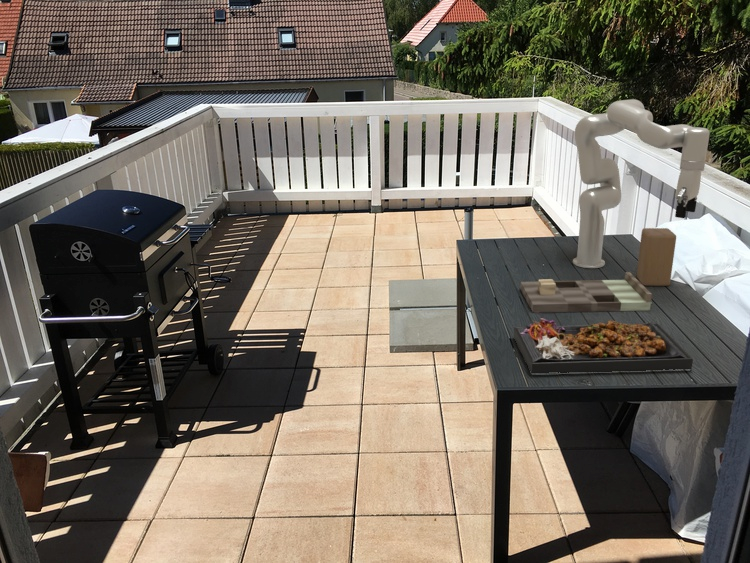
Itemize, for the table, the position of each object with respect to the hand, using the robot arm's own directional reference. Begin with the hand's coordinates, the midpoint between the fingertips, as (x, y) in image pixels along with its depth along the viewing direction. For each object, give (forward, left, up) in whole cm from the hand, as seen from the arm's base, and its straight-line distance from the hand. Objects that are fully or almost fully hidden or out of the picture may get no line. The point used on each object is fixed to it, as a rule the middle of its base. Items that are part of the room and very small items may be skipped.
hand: (685, 214), depth 227 cm
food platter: (+45, -41, -31) cm, 68 cm away
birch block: (+3, -47, -27) cm, 54 cm away
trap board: (+3, -34, -30) cm, 45 cm away
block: (-13, -3, -30) cm, 33 cm away
